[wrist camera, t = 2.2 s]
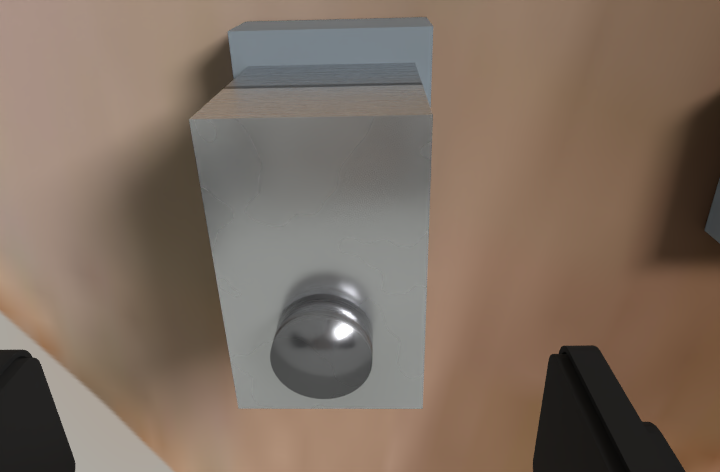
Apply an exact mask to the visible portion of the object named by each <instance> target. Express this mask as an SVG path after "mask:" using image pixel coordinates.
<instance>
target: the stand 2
mask: <svg viewBox="0 0 720 472" xmlns="http://www.w3.org/2000/svg"><path fill="white" fill-rule="evenodd" d="M705 231H706V232H707V233H708V234H709V235H710V236H712V237H713V238H714V239H715V240H716V241H717V242H719V243H720V179H719V182H718V186H717V189H716V192H715V196H714V199H713V203H712V206H711V210H710V213H709V216H708V220H707V223H706V227H705Z"/></svg>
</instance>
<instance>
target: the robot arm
mask: <svg viewBox="0 0 720 472" xmlns="http://www.w3.org/2000/svg"><path fill="white" fill-rule="evenodd" d="M0 472H75V460H74V457H73V454H72V451H71V449H70V446H69V443H68V440H67V437H66V435H65V432H64V429H63V426H62V423H61V421H60V417H59V415H58V412H57V409H56V406H55V403H54V401H53V398H52V395H51V392H50V389H49V386H48V383H47V381H46V378H45V376H44V372H43V369H42V366H41V364H40V362H39V360H38V359H36V358H33V357H32V356H31V354H30V353H29V352H28V351H26V350H0ZM533 472H685V470H684V469H683V467H682V465H681V464H680V462H679V460H678V459H677V457H676V456H675V454H674V452H673V451H672V449H671V448H670V446H669V444H668V443H667V441H666V439H665V438H664V436H663V435H662V433H661V432H660V431H659V429H658V428H657V427H656V426H655V425H654V424H652V423H651V422H642V421H641V419H640V418H639V416H638V414H637V413H636V411H635V409H634V407H633V406H632V404H631V402H630V401H629V399H628V397H627V396H626V394H625V392H624V391H623V389H622V387H621V385H620V384H619V382H618V380H617V379H616V377H615V375H614V374H613V372H612V370H611V369H610V367H609V365H608V363H607V362H606V360H605V358H604V357H603V355H602V353H601V352H600V350H599V349H598V348H597V347H596V346H562V347H561V349H560V351H559V354H552V355H551V356H550V358H549V362H548V368H547V375H546V381H545V388H544V394H543V400H542V407H541V413H540V420H539V426H538V432H537V439H536V445H535V452H534V458H533Z"/></svg>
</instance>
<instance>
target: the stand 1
mask: <svg viewBox="0 0 720 472" xmlns="http://www.w3.org/2000/svg"><path fill="white" fill-rule="evenodd" d="M228 39H229V46H230V54H231V62H232V69H233V77H234V79H235V78H236V77H237V76H238V75H239V74H240V73H241V72H243V71H244V70H245V69H246V68H247V67H248V66H279V65H324V64H369V63H415V64H416V67H417V70H418V73H419V75H420V78H421V81H422V84H423V87H424V90H425V93H426V96H427V99H428V102H429V105H430V107H431V76H432V46H433V26H432V24H431V23H430V21H429V20H428V19H427V17H414V18H374V19H335V20H295V21H255V22H244V23H242V24H241V25H239V26H237V27H235V28H233V29H231V30H229V31H228Z"/></svg>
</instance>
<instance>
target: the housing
mask: <svg viewBox="0 0 720 472" xmlns="http://www.w3.org/2000/svg"><path fill="white" fill-rule="evenodd" d="M189 123H190V129H191V135H192V140H193V146H194V152H195V158H196V164H197V169H198V175H199V181H200V187H201V193H202V199H203V204H204V210H205V216H206V222H207V228H208V234H209V239H210V245H211V251H212V257H213V263H214V268H215V274H216V280H217V286H218V292H219V298H220V303H221V309H222V315H223V321H224V327H225V333H226V338H227V344H228V350H229V356H230V362H231V367H232V373H233V379H234V385H235V391H236V397H237V402H238V408H272V409H423V382H424V353H425V324H426V296H427V267H428V238H429V209H430V180H431V151H432V123H433V114H432V111H431V108H430V105H429V102H428V99H427V96H426V93H425V90H424V87H423V84H422V81H421V78H420V75H419V73H418V70H417V67H416V64H415V63H369V64H324V65H279V66H248V67H247V68H246V69H245V70H244V71H243V72H241V73H240V74H239V75H238V76H237V77H236V78H235V79H234V80H232V81H231V82H230V83H229V84H228V85H227V86H226V87H225V88H223V89H222V90H221V91H220V92H219V93H218V94H217V95H216V96H214V97H213V98H212V99H211V100H210V101H209V102H208V103H207V104H205V105H204V106H203V107H202V108H201V109H200V110H199V111H198V112H196V113H195V114H194V115H193V116H192V117H191V118H190V119H189Z"/></svg>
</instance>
